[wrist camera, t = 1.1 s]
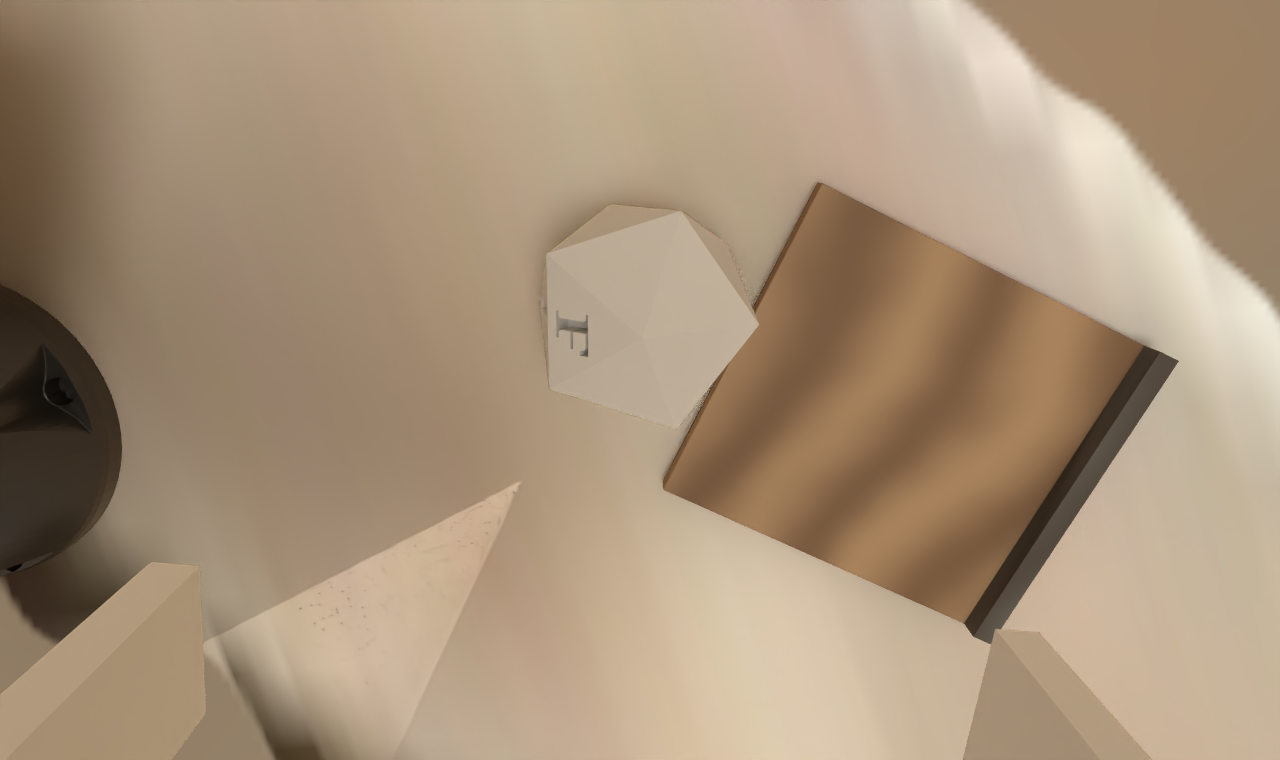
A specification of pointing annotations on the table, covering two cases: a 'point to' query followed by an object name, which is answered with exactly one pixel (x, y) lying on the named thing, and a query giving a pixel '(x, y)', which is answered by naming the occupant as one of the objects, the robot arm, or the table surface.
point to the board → (913, 414)
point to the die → (642, 312)
